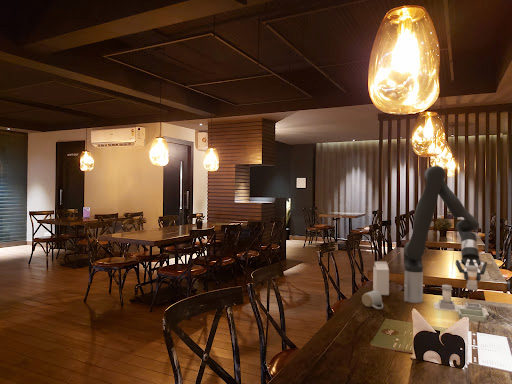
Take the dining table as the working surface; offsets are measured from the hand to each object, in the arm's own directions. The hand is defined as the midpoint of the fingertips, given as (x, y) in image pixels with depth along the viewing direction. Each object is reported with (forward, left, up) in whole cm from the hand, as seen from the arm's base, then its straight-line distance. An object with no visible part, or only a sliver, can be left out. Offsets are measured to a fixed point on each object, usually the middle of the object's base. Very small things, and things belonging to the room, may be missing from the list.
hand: (472, 280), depth 178 cm
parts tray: (0, +2, -19) cm, 19 cm away
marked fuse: (0, +2, -5) cm, 5 cm away
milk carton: (-44, +29, -19) cm, 56 cm away
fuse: (-10, +14, -18) cm, 25 cm away
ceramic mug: (-45, +2, -19) cm, 49 cm away
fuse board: (-4, +14, -19) cm, 24 cm away
